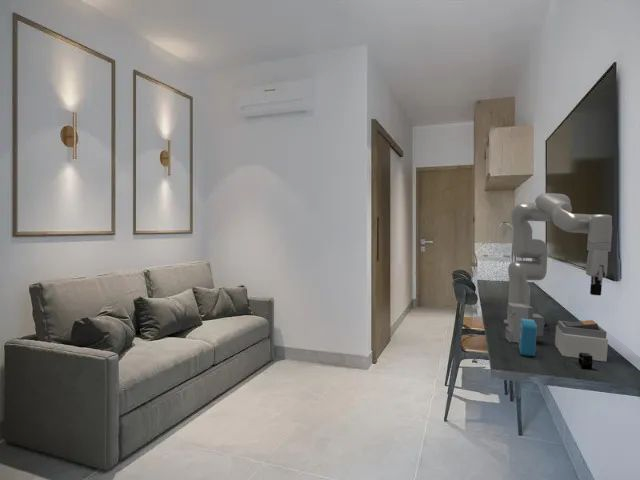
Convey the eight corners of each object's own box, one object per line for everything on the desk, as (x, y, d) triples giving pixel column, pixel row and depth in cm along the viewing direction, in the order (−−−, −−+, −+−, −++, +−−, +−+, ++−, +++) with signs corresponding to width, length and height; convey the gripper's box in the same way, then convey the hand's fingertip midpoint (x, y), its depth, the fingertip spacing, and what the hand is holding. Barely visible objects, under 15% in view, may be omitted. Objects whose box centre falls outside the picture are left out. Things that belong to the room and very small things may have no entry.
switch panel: (554, 344, 171) (556, 319, 171) (594, 349, 166) (596, 323, 166) (562, 355, 156) (564, 328, 156) (606, 361, 151) (608, 333, 151)
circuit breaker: (546, 345, 169) (549, 309, 169) (509, 342, 172) (511, 306, 171) (541, 340, 177) (543, 305, 176) (505, 337, 179) (507, 302, 179)
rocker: (564, 326, 166) (563, 322, 166) (593, 324, 162) (592, 319, 162) (568, 330, 159) (567, 325, 159) (598, 328, 156) (597, 323, 156)
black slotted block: (567, 360, 152) (568, 348, 152) (589, 363, 151) (590, 350, 151) (580, 371, 140) (581, 358, 140) (604, 374, 139) (605, 361, 138)
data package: (518, 347, 165) (520, 317, 164) (531, 349, 163) (533, 319, 162) (521, 356, 153) (523, 323, 153) (534, 358, 152) (537, 325, 151)
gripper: (582, 245, 166) (579, 291, 167) (592, 247, 152) (589, 296, 153) (604, 246, 164) (601, 293, 164) (616, 248, 150) (613, 298, 150)
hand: (595, 294), depth 159 cm, fingers closed
